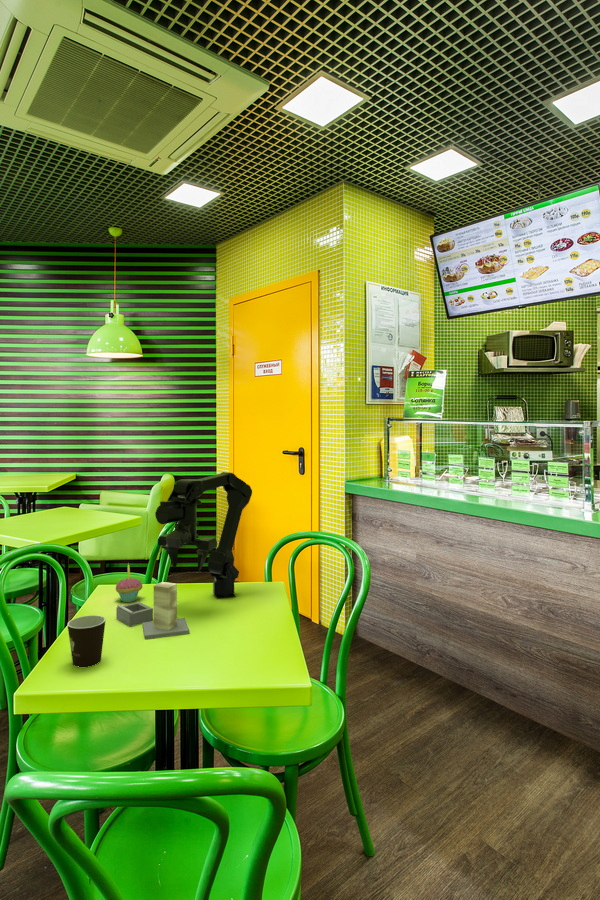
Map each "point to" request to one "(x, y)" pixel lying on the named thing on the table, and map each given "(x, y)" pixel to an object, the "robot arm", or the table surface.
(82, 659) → the coffee mug
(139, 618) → the dispenser sleeve
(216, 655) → the table surface
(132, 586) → the cupcake
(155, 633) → the rubber mat
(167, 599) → the cream square pillar
